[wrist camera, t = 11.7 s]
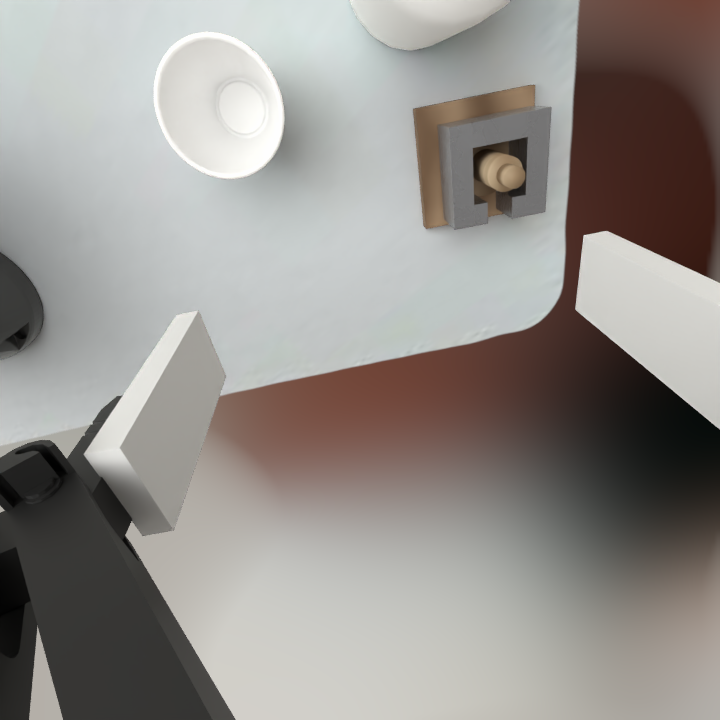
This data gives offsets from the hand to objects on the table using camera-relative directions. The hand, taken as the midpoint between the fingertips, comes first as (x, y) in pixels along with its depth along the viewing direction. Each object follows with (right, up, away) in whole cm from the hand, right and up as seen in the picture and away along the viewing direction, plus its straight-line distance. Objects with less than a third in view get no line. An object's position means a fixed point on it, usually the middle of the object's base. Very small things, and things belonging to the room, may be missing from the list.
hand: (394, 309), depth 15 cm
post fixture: (+11, +20, +32) cm, 39 cm away
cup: (-13, +23, +28) cm, 39 cm away
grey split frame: (+11, +18, +28) cm, 36 cm away
